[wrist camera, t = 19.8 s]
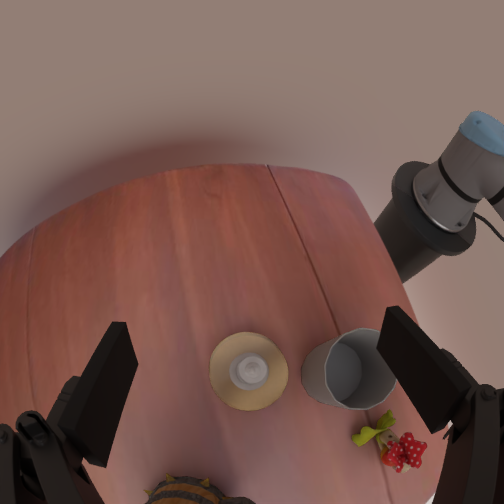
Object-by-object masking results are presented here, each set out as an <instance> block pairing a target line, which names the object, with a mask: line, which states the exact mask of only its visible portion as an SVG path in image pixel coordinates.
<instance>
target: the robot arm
mask: <svg viewBox="0 0 504 504" xmlns="http://www.w3.org/2000/svg"><path fill="white" fill-rule="evenodd" d="M411 192H412V196H413V199H414V202H415V204H416V206H417V208H418V209H419V211H420V212H421V214H422V215H423V216H424V217H425V219H426V220H427V221H428V222H429V223H430V224H431V225H433V226H434V227H435V228H437V229H438V230H440V231H442V232H444V233H447V234H457V233H459V232H461V231H462V230H463V229H464V228H465V227H466V225H467V224H468V222H469V220H470V218H471V216H472V215H473V216H475V217H477V218H478V219H480V220H482V221H483V222H484V223H485V224H487V225H488V226H489V227H490V228H491V229H492V231H493V232H494V233H495V234H496V235H497V236H498V237H499V238H500V239H501V240H502V241H503V242H504V238H503V237H502V236H501V235H500V234H499V232H498V231H497V230H496V229H495V228H494V227H493V226H492V225H491V224H490V223H489V222H488V221H487V220H486V219H485V218H483V217H482V216H480V215H478V214H477V213H475V212H474V210H475V207H476V205H477V203H478V202H479V201H480V200H481V199H482V198H483V197H485V198H486V199H487V200H488V202H489V203H490V204H491V205H492V206H493V208H494V209H495V210H496V212H497V213H498V214H499V215H500V217H501V218H502V219H503V221H504V125H503V124H502V123H501V122H499V121H498V120H496V119H495V118H493V117H492V116H490V115H488V114H486V113H484V112H480V111H474V112H471V113H470V114H469V115H468V116H467V118H466V119H465V121H464V122H463V123H462V124H460V126H459V130H458V132H457V133H456V135H455V136H454V137H453V139H452V140H451V142H450V143H449V145H448V146H447V148H446V149H445V150H444V152H443V153H442V155H441V157H440V158H439V159H438V160H437V161H435V162H434V163H432V164H430V165H427V167H426V168H424V169H422V170H421V171H420V172H418V173H417V175H416V176H415V177H414V179H413V181H412V183H411ZM376 349H377V351H378V352H379V354H380V355H381V356H382V358H383V359H384V361H385V362H386V364H387V365H388V367H389V368H390V370H391V371H392V373H393V374H394V376H395V377H396V379H397V380H398V382H399V383H400V385H401V386H402V388H403V389H404V391H405V392H406V394H407V396H408V397H409V399H410V400H411V402H412V403H413V405H414V407H415V408H416V410H417V411H418V413H419V414H420V416H421V418H422V419H423V421H424V422H425V424H426V426H427V427H428V429H429V431H430V432H431V434H433V433H435V432H437V431H440V430H442V429H444V428H445V426H446V425H447V424H448V422H449V421H450V420H451V422H452V423H453V425H452V426H451V427H450V429H449V430H448V431H447V432H446V434H445V435H444V437H443V439H445V438H446V437H447V436H448V435H449V438H448V444H447V449H446V454H445V459H444V463H443V467H442V471H441V475H440V479H439V483H438V486H437V490H436V493H435V496H434V499H433V502H432V504H504V388H503V389H497V390H496V389H495V388H494V387H492V386H491V385H488V384H482V385H479V384H478V383H477V381H476V380H475V379H474V378H473V377H472V376H471V375H470V373H469V372H468V371H467V370H466V369H465V368H464V367H462V364H461V363H460V362H459V361H457V359H456V358H455V357H454V356H453V355H452V354H451V353H450V352H448V351H447V350H445V349H439V348H438V346H437V345H436V344H435V343H434V342H433V341H432V340H431V339H430V338H429V337H428V336H427V335H426V334H425V333H424V331H422V329H421V328H420V327H419V326H418V325H417V324H416V323H415V322H414V321H413V320H412V319H411V318H410V317H409V316H408V315H407V314H406V313H405V312H404V311H403V310H402V309H401V308H400V307H399V306H391V307H387V308H386V312H385V316H384V320H383V324H382V328H381V332H380V336H379V339H378V343H377V346H376ZM137 367H138V361H137V358H136V355H135V352H134V349H133V345H132V342H131V339H130V335H129V332H128V328H127V325H126V322H112V323H111V324H110V326H109V328H108V329H107V331H106V333H105V334H104V336H103V338H102V339H101V341H100V343H99V345H98V346H97V348H96V350H95V352H94V353H93V355H92V357H91V359H90V361H89V362H88V364H87V366H86V368H85V370H84V371H83V373H82V375H81V377H78V376H73V377H72V378H70V379H69V380H68V381H67V382H66V383H65V385H64V387H63V388H62V390H61V393H60V394H59V396H58V399H57V400H56V401H55V403H54V405H53V407H52V409H51V411H50V413H49V415H48V417H47V419H46V421H45V419H44V418H43V417H42V415H41V414H39V413H38V412H37V411H32V410H31V411H26V412H24V413H22V414H21V415H20V416H19V417H18V419H17V421H16V429H17V430H18V432H19V433H18V432H14V431H13V430H12V428H11V427H10V426H8V425H7V424H0V504H105V503H104V502H103V500H102V498H101V497H100V495H99V493H98V492H97V490H96V488H95V486H94V484H93V483H92V481H91V479H90V477H89V475H88V473H87V471H86V469H85V467H84V466H83V464H82V460H83V457H84V458H85V459H86V460H87V461H88V462H89V464H93V465H96V466H100V467H104V468H106V466H107V462H108V459H109V455H110V451H111V448H112V444H113V441H114V437H115V434H116V431H117V427H118V424H119V421H120V418H121V414H122V411H123V408H124V405H125V402H126V399H127V396H128V393H129V390H130V387H131V384H132V381H133V378H134V375H135V373H136V370H137Z"/></svg>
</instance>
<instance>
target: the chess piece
mask: <svg viewBox="0 0 504 504" xmlns="http://www.w3.org/2000/svg"><path fill="white" fill-rule="evenodd" d="M229 374H230V378H231V380H232V382H233V383H234V384H235V385H236V386H237V387H238V388H241V389H243V390H255V389H257V388H260V387H261V386H262V385H263V384H264V383H265V382H266V381H267V378H268V375H269V367H268V365H267V362H266V361H265V360H264V358H262V357H261V356H260V355H258V354H255V353H243V354H240V355H239V356H237V357H236V358H235V359H234V360H233V361H232V363H231V365H230V369H229Z"/></svg>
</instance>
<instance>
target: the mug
mask: <svg viewBox="0 0 504 504" xmlns="http://www.w3.org/2000/svg"><path fill="white" fill-rule="evenodd" d="M144 491H145V492H146V493H147V494H148V495H149V500H148V502H147V503H146V504H256V503H254V502H253V501H252V500H250V499H248V498H246V497H235V498H234V497H226V496H225V495H224V494H223V493H222V492H221V491H220V490H219V489H218V488H217V487H215V486H213V485H211V484H209V478H207V479H205V480H201V479H196V478H192V477H187V476H186V477H171V476H170V475H168V474H167V473H166V480H165V481H163V482H160V483H159V485H158V486H157V487H156V488H155V490H154V491H149V490H144Z"/></svg>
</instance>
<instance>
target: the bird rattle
mask: <svg viewBox="0 0 504 504" xmlns="http://www.w3.org/2000/svg"><path fill="white" fill-rule="evenodd" d="M395 422H396V420H395V419H393V414H392V412H391V410H390V409H389V410H388V411H387V413H386V414H384V415H383V416H382V417H381V418H380V419H379V420H378V422H377V426H376V430H374V429H372V428H370V427H369V426H364V427H363V428H362V429H361V433H360V434H354V435H352V441H353V442H354V443H356V444H357V445H358V446H359V447H360V446H362V445H363V444H365V443H366V442H368V441H369V440H370V439H371V438H372V437H374V436H375V435H376V440H377V441H378V445H379V447H380V450H381V454H380V457H381V460H382V462H383V463H384V464H385V465H387V466H392V467H393V468H394V469H395V470H396V472H397V473H404V472H406V471H408V470H409V469H410V467H414V468H419V467H420V466H421V464H422V461H421V455H422V454H423V452H424V451H425V449H426V448H427V444H426V443H425V442H420V441H416V440H414V437H413V435H412V433H411V432H410V433H405V434H404V435H403V436H402V437H401V438H400V439H399V438H398V437H397V436H396V435H395V434H394V433H393V432H392V431H391V430H390V429H387V427H390V426H392V425H394V424H395Z"/></svg>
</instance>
